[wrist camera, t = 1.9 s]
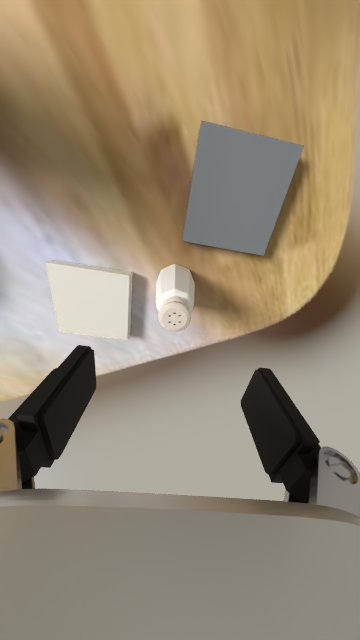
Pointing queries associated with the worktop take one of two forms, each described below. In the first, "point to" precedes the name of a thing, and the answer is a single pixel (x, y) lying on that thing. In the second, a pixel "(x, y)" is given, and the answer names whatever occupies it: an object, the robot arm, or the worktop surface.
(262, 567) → the robot arm
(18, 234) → the worktop surface
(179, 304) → the salt shaker
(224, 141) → the plate
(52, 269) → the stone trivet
